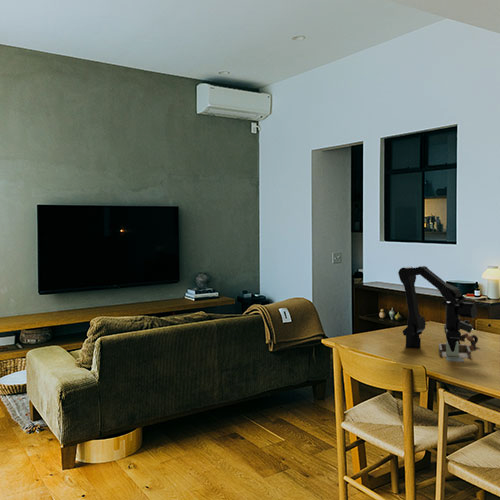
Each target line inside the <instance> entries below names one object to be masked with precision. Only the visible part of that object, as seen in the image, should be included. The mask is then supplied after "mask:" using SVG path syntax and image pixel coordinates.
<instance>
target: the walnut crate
mask: <svg viewBox="0 0 500 500" xmlns="http://www.w3.org/2000/svg"><path fill="white" fill-rule="evenodd" d="M469 346H470V345H469V344H461V345H460V344H459V356H447V355H446V343H440V342H439V343H438V354H439V357H445V358H446V356H447V357H462V358H463V359H471V358H472V350H470V348H469Z"/></svg>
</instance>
